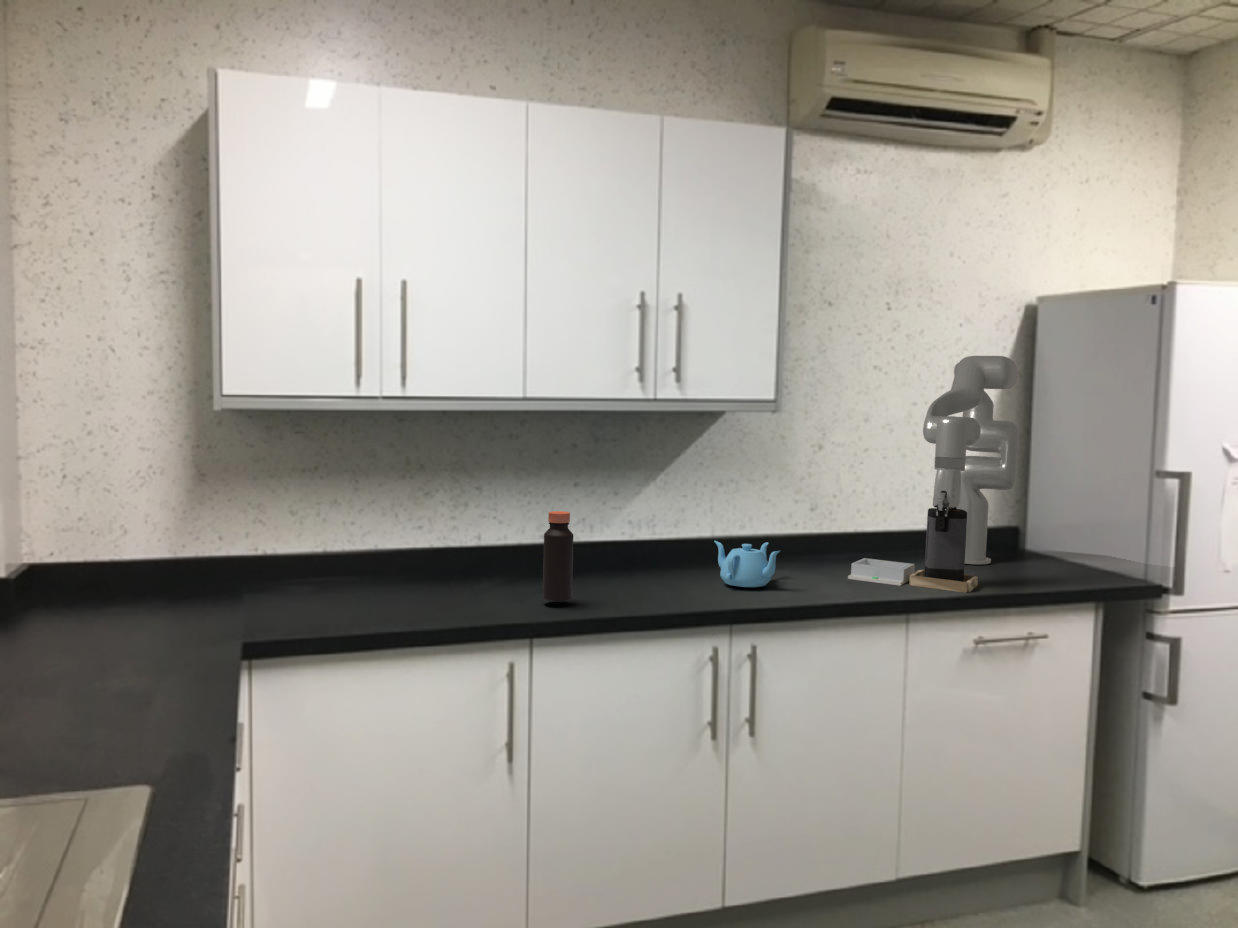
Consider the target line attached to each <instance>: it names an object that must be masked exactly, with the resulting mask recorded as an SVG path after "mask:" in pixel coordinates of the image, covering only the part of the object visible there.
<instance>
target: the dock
mask: <svg viewBox="0 0 1238 928" xmlns="http://www.w3.org/2000/svg"><path fill="white" fill-rule="evenodd" d="M850 566H851V567H850V574H849V575H847V580H848V579H849V580H854V581H862V582H870V583H877V584H878V583H879V584H885V585H894V586H900V587H901V586H902V585H904V584H906V583H909V582H910V575H911V574H913V573H915V572H916V569H915V567H916V565H915V563H910V562H902V561H901V562H899V561H893V560H883V559H875V558H866V557H864V558H861V559H859V560H856V561H854V562H852V563H851V565H850Z"/></svg>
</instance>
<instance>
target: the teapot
mask: <svg viewBox="0 0 1238 928" xmlns="http://www.w3.org/2000/svg"><path fill="white" fill-rule="evenodd" d="M713 542H714V543H715V545H716V546H717V548H718V556H717V562H718V563H717V565H718V566H719V569H720V573H719V574H720V578H721V580H722V581H723V582H724V583H725V584H727V585H729V586H734V587H742V588H759V587H765V586H767V584H768V583H769V582H770V581H771V579H772V576H773V575H774V574H775V572H776V566H777V564H776V563H777V562H776V559H777V555H778V554H779V553H780V552H781V550H777V551H776V550H775V551H772V552H771V553H770V554H769V558H767V548H768V545H769V542H768V541H767V542H764V543H763V544H762V545H761V546H760V549H756V548H752V547H753V544H752V543H742V544H741V547H742V548H741V547H738V548H732V549H730V551H729V553H728V554H727V556H726V554H725V548H724V545H723V544H722V543H721V542H719V541H718V540H714V541H713Z"/></svg>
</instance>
